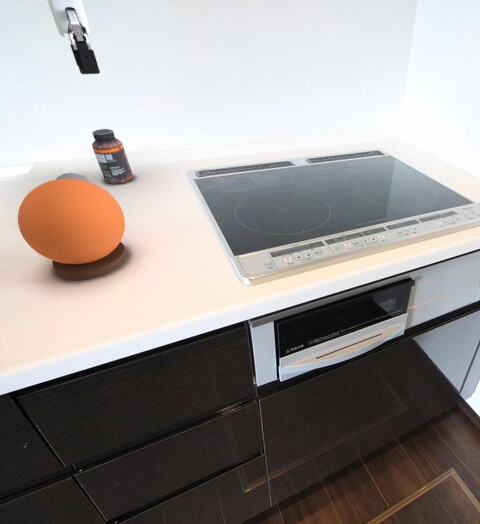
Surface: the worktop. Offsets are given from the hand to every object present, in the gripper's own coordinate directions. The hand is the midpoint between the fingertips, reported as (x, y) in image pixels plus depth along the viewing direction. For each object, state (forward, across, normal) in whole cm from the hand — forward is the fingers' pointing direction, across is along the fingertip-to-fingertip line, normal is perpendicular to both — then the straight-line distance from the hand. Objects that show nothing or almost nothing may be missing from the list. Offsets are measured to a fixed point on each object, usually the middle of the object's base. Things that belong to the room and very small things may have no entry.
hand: (88, 69), depth 73 cm
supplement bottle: (+24, 0, -1) cm, 24 cm away
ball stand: (+24, +34, -9) cm, 42 cm away
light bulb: (+24, +20, -9) cm, 32 cm away
